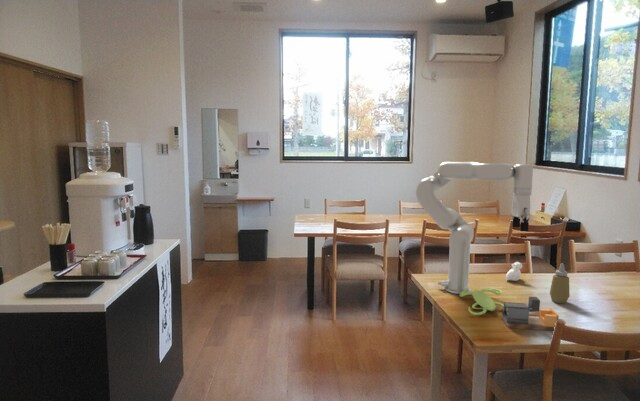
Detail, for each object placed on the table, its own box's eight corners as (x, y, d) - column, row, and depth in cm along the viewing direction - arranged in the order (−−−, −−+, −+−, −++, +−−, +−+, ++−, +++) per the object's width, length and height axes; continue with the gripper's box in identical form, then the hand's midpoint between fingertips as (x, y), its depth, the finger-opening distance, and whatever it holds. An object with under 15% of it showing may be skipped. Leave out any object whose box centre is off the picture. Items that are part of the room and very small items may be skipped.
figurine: (497, 296, 200) (498, 285, 200) (516, 319, 174) (517, 306, 173) (457, 294, 203) (458, 283, 202) (470, 316, 176) (471, 303, 176)
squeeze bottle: (566, 299, 197) (570, 262, 195) (570, 305, 189) (574, 266, 187) (547, 297, 199) (550, 260, 197) (550, 303, 192) (554, 265, 190)
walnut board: (507, 327, 165) (508, 324, 165) (501, 318, 174) (501, 315, 174) (559, 331, 162) (560, 328, 162) (550, 321, 171) (550, 319, 171)
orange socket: (545, 326, 164) (546, 314, 163) (538, 319, 171) (539, 307, 170) (557, 327, 163) (558, 314, 163) (550, 320, 170) (551, 308, 169)
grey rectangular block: (508, 316, 167) (509, 298, 166) (505, 312, 171) (506, 295, 170) (540, 318, 165) (541, 300, 164) (536, 314, 169) (538, 297, 168)
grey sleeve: (506, 322, 167) (507, 306, 166) (502, 317, 172) (504, 302, 171) (528, 324, 166) (529, 308, 165) (523, 319, 171) (524, 303, 170)
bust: (508, 286, 222) (523, 273, 215) (498, 275, 225) (512, 261, 219) (518, 281, 230) (532, 268, 223) (507, 271, 233) (521, 257, 227)
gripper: (506, 189, 198) (504, 225, 200) (520, 193, 181) (518, 232, 183) (523, 189, 197) (521, 225, 199) (539, 193, 180) (536, 232, 182)
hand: (519, 229), depth 191 cm, fingers open, 9 cm apart
